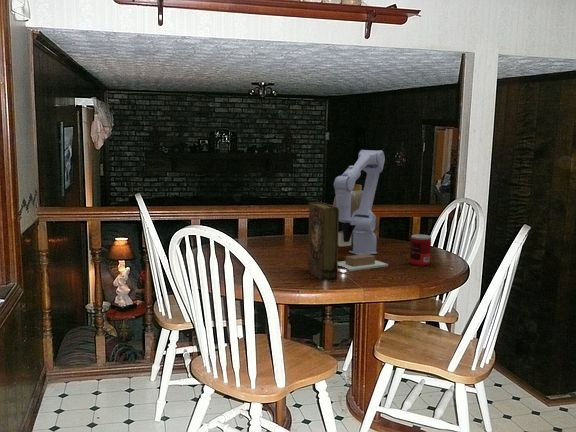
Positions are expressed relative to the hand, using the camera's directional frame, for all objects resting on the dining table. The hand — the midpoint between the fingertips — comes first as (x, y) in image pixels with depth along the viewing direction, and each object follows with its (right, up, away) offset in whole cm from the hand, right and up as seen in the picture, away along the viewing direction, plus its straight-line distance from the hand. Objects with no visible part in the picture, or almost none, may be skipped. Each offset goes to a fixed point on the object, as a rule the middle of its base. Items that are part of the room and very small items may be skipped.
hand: (342, 240), depth 219 cm
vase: (+7, -3, +39) cm, 40 cm away
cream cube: (0, -2, 0) cm, 2 cm away
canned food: (+30, -9, -4) cm, 31 cm away
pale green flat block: (+6, -9, -8) cm, 13 cm away
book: (-10, -11, -23) cm, 27 cm away
